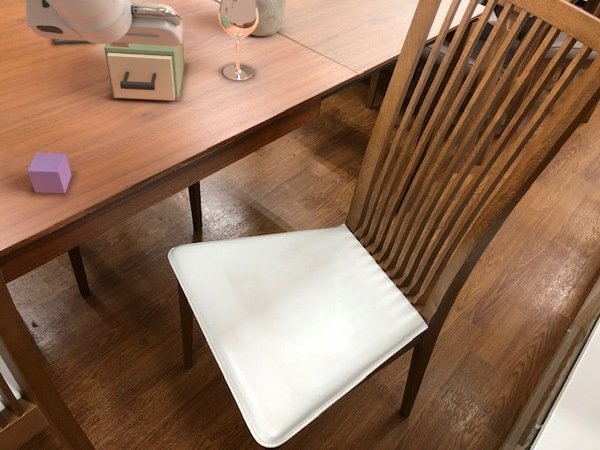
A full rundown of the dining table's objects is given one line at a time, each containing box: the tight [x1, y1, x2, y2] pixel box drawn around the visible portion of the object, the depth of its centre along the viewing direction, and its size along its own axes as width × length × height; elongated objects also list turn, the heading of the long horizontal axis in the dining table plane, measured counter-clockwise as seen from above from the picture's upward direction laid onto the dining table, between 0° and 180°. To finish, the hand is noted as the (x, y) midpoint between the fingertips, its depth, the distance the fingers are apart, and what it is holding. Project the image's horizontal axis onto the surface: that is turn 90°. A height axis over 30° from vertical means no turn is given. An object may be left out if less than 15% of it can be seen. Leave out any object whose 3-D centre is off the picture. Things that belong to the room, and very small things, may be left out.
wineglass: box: [217, 0, 259, 81], centre depth 105 cm, size 8×8×18 cm
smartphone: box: [53, 39, 92, 45], centre depth 117 cm, size 8×15×1 cm, turn 16°
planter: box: [250, 0, 287, 37], centre depth 123 cm, size 12×12×11 cm
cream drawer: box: [107, 52, 175, 101], centre depth 99 cm, size 18×11×9 cm, turn 4°
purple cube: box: [27, 152, 73, 194], centre depth 80 cm, size 4×4×4 cm
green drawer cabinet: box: [103, 16, 186, 102], centre depth 102 cm, size 15×13×11 cm
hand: (121, 42), depth 79 cm, fingers closed
